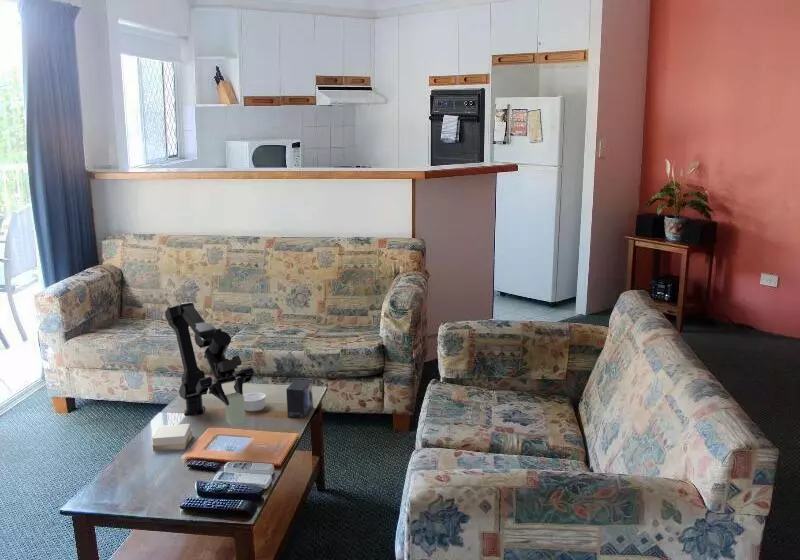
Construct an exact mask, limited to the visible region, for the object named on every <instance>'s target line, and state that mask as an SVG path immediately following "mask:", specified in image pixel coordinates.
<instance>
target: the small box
mask: <svg viewBox="0 0 800 560" xmlns="http://www.w3.org/2000/svg"><path fill="white" fill-rule="evenodd" d="M312 383H313V381H312V380H309V379H295V380H294V381H293V382H292V383H291V384H290V385H289V386H288V387H286V407H287V408H286V409H287V413H286V414H287V417H288V418H300V419H301V418H302V419H303V418H305V417H306V416H307V414H308V413H309V412H310V411H311V410H312V409H313V407H314V403H313V402H314V400H313V384H312Z"/></svg>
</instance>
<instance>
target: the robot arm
mask: <svg viewBox="0 0 800 560" xmlns="http://www.w3.org/2000/svg"><path fill="white" fill-rule="evenodd" d="M164 316H165V319H166V320H167V323H168V325H169V327H170V328H171V329H172V330H173V331H174V332H175V336H176V340H177V344H178V350H179V354H180V358H181V363H182V367H183V373H182V376H181V385H180V387H179V389H178V394H179V397H180V398H182V399H183V400H184V401H185V407H186V409H185V411H184V415H185V416H189V415H190V416H191V415H202V414H204V411H205V410H206V406H205V405H203V395H208V394H209V395H213V396H214V397H216V398H218V399H219V400H220V401H221V402H222V403H224V405H225V404H226V405H229V402H228V399H227V397H226V395H227V394H226V393H225V391H224V389H223V386H222V385H223V384H226V383H227V384H228V383H230V382H233V383H234V385H233V389H234V391H235V393H236V392H238V393H240V394H242V395H244V394H243V392H244V391H243V385H244V384H246V383H249V382H251V381H252V380H253V377H254V376H255V374H256V372H255V370H254V368H253V367H251V366H248V367H245V368H241V369H240V370H239V372H238V373H236V374H234V373H235V372H236V369H238V367H239V366H241V365H242V364H243V363H242V359H241V357H240V355H236V356H233V357H231V359H229V358H227V357H226V355H225V353H227V350H228V348H229V346H230V344H231V341H232V337H231V335H230V333H228V332H226V331H223V330H222V328H216V327H215V326H214V325H212V324H209V323H208V322H206V321H205V320H204V318H203V317H202V316H201V314H200V313H199V311H198V310H197V309H196V308H195V305H194V303H193V302H192V301H186V302H182V303H178V304H177V305H174V306H168V307H167V309H166V310H165V311H164ZM189 327H190V328H191V331H192V332H193V333H194V342H195V344H196V345H197V346H198V347H199V348H200V349H202V348H206V349H205V350H204V355H203V356H204V359H206V360H207V363H208V366H209V367H210V374H212V375H213V377H214V378H212V377H211V376H207V377H206V375H205V372H204V371H203V370H201V369H200V368H199V367H198V364H197V360H196V359H197V358H196V354H195V351H194V345H193V342H192V337H191V332H190V328H189ZM204 409H205V410H204Z"/></svg>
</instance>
